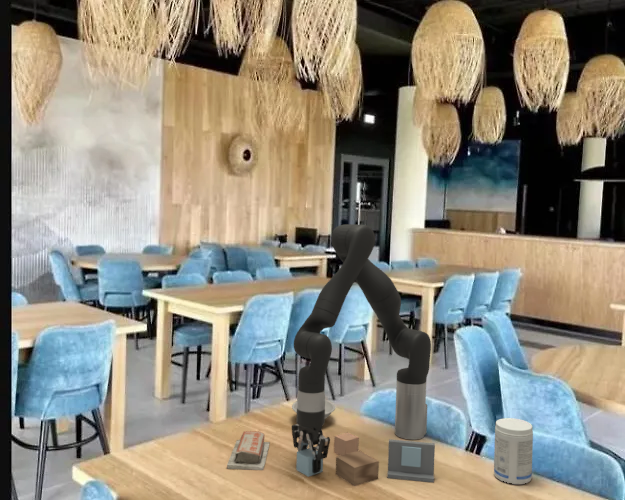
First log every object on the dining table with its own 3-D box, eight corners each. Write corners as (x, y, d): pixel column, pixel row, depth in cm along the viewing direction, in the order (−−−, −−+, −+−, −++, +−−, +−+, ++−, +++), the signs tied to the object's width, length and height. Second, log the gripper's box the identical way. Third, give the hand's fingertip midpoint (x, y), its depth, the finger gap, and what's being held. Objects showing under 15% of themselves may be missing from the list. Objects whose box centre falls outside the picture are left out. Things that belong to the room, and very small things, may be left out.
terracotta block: (346, 448, 177) (347, 432, 177) (358, 454, 174) (358, 437, 173) (333, 452, 174) (334, 435, 174) (345, 458, 170) (345, 441, 170)
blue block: (310, 465, 165) (311, 447, 165) (322, 471, 161) (323, 453, 161) (296, 469, 162) (296, 451, 161) (308, 476, 158) (308, 458, 158)
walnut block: (359, 468, 164) (359, 450, 164) (378, 479, 158) (378, 461, 157) (335, 474, 160) (336, 456, 160) (353, 486, 153) (354, 467, 153)
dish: (334, 431, 190) (334, 416, 190) (288, 429, 191) (289, 414, 191) (336, 413, 208) (336, 399, 208) (294, 411, 209) (294, 397, 209)
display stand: (388, 468, 164) (389, 436, 164) (433, 472, 162) (434, 440, 161) (387, 478, 158) (388, 444, 158) (433, 482, 156) (435, 448, 156)
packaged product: (236, 428, 179) (270, 430, 179) (236, 444, 179) (269, 446, 179) (226, 453, 161) (264, 454, 161) (226, 470, 161) (263, 472, 161)
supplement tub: (529, 472, 164) (531, 419, 163) (533, 488, 155) (536, 432, 154) (491, 468, 166) (494, 416, 165) (494, 483, 157) (496, 428, 156)
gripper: (339, 411, 157) (337, 474, 158) (305, 396, 168) (303, 456, 169) (317, 416, 152) (315, 482, 154) (283, 401, 163) (282, 463, 165)
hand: (309, 468), depth 161 cm, fingers closed on blue block, 5 cm apart
